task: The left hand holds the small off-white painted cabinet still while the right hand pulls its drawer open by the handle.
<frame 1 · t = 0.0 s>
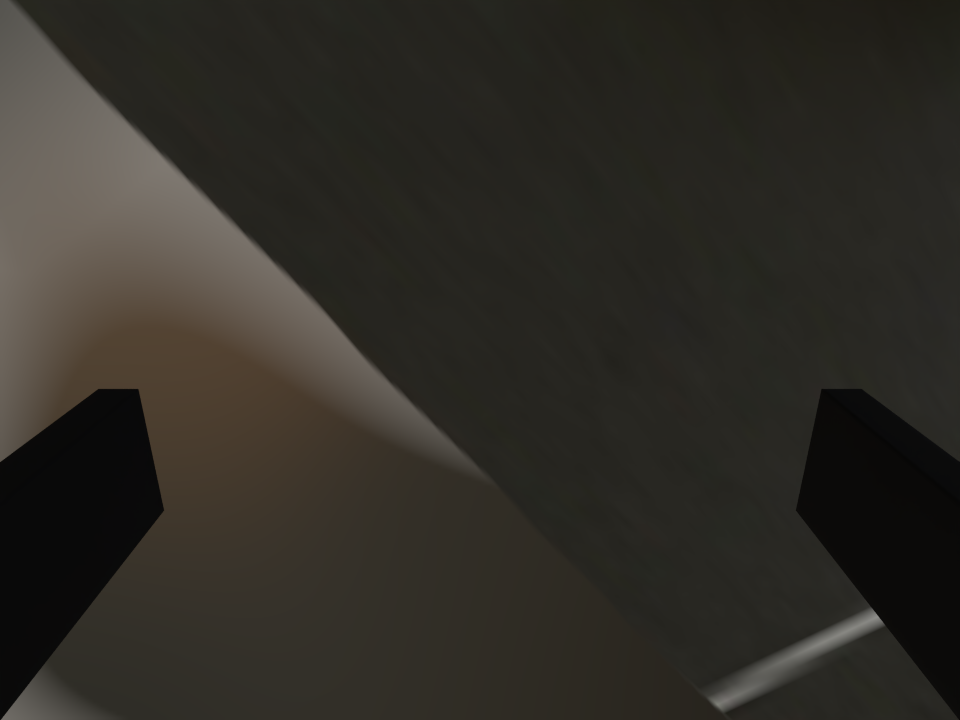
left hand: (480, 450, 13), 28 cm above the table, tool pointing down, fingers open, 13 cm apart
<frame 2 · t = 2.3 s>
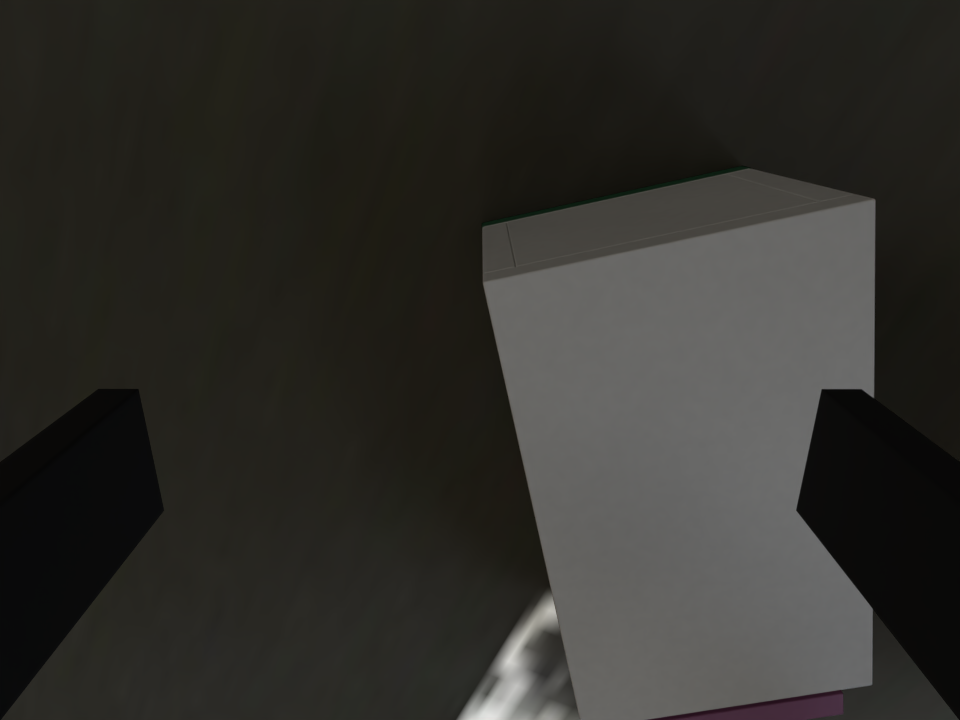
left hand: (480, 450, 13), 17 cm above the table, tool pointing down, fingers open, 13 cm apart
cabinet: (637, 389, 31), on the table
drawer: (680, 561, 29), point 5 cm above the table, slide at 1.5 cm
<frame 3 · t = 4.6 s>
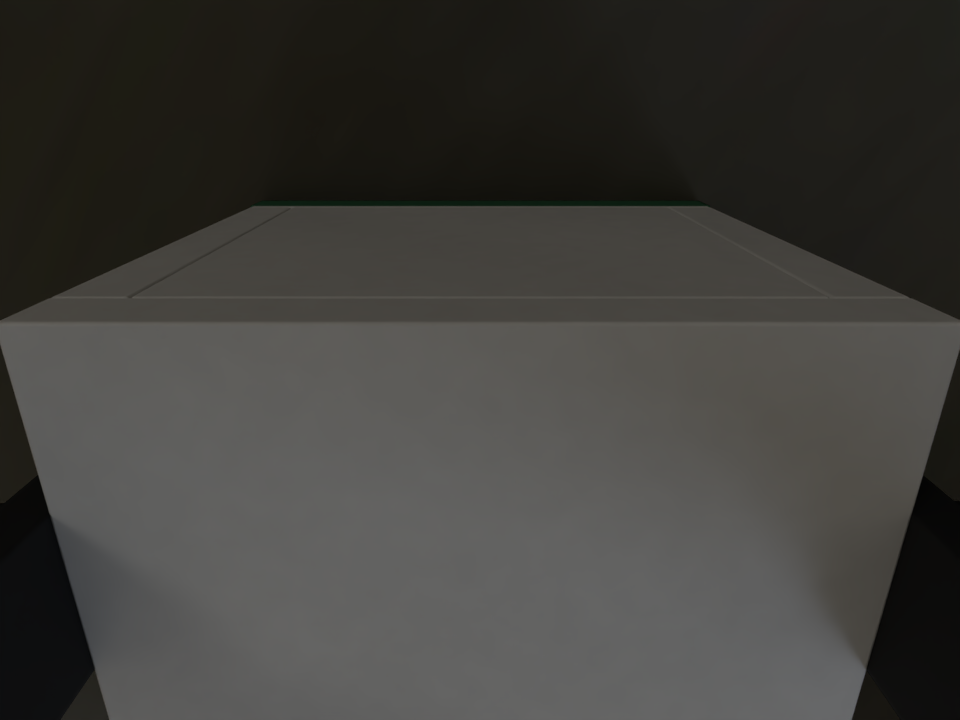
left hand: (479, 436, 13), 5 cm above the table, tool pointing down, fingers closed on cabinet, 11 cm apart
cabinet: (480, 507, 20), on the table, touching left hand
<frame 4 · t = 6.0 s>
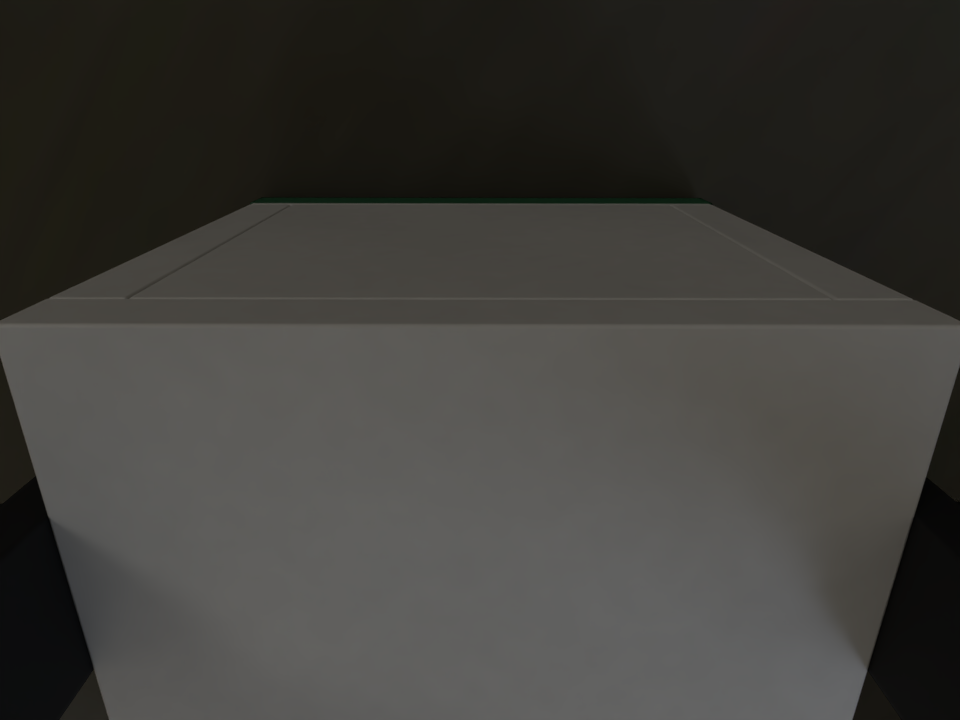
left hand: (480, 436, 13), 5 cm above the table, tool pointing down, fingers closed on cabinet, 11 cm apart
cabinet: (480, 505, 20), on the table, touching left hand
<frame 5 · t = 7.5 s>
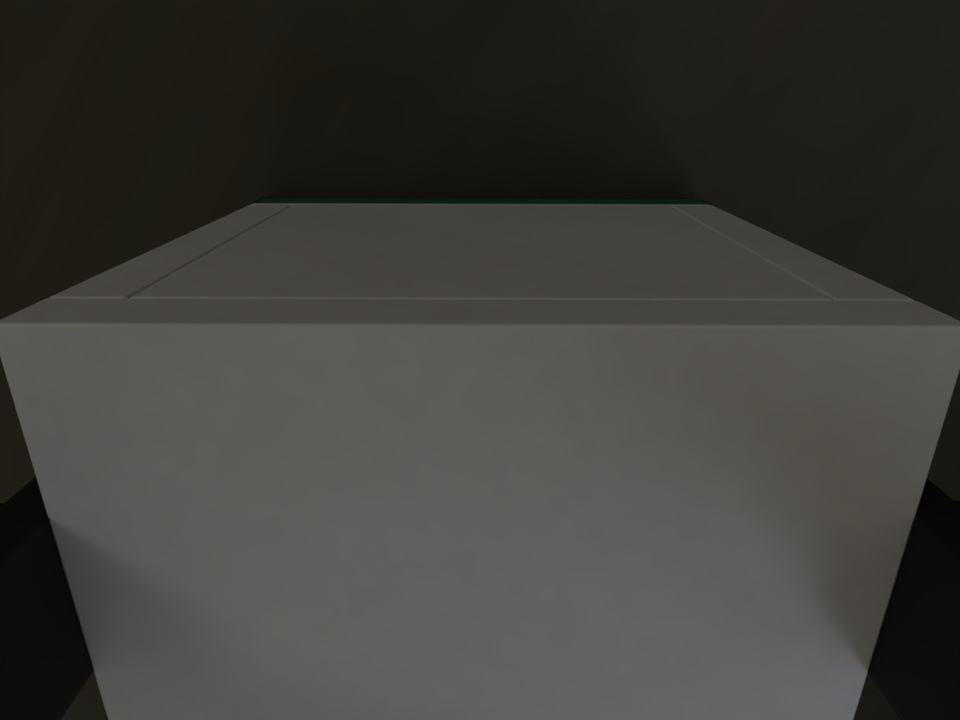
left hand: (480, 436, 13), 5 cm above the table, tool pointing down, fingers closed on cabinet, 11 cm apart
cabinet: (480, 506, 20), on the table, touching left hand
when the left hand's fingers open (5 cm above the table, at t = 9.0 s): cabinet stays where it is, on the table.
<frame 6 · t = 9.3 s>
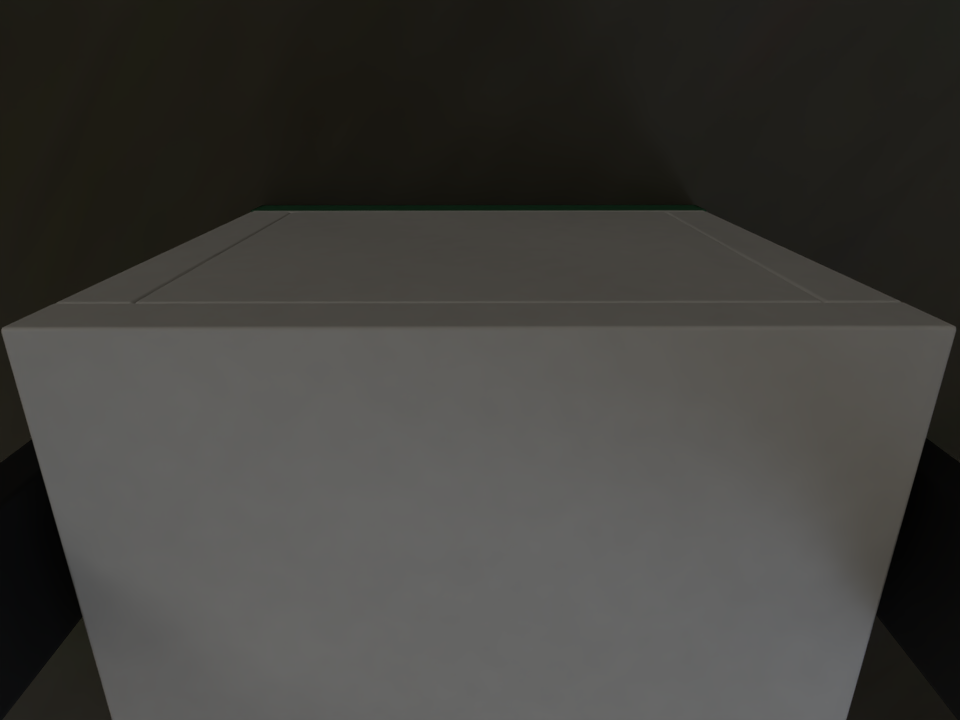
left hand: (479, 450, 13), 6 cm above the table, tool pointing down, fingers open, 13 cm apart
cabinet: (479, 510, 20), on the table
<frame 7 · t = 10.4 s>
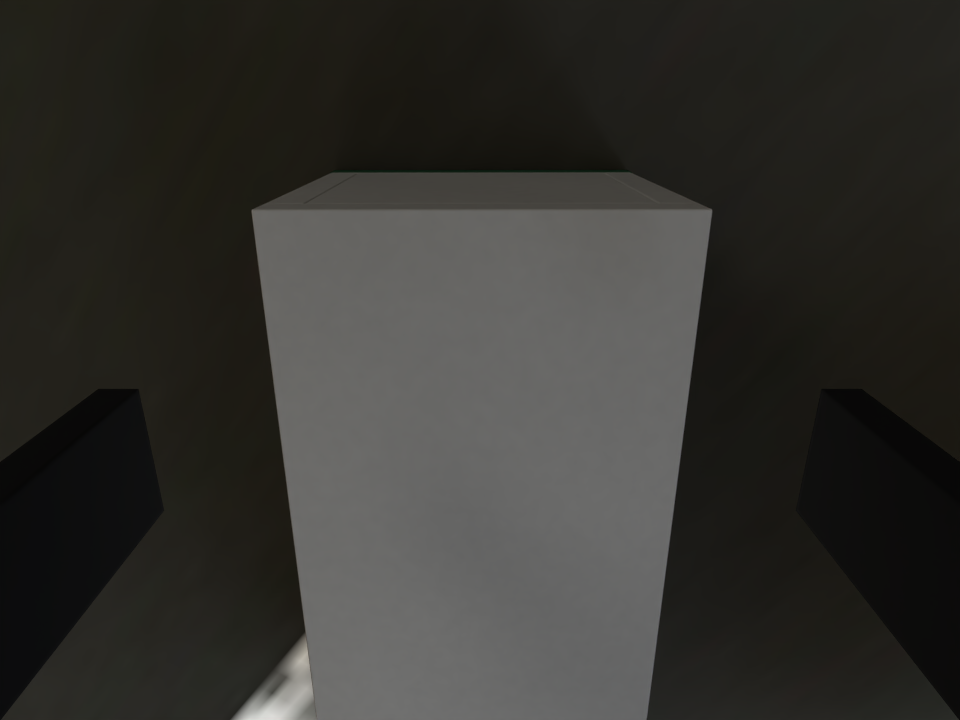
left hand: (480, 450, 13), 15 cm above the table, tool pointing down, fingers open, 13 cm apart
cabinet: (481, 391, 29), on the table
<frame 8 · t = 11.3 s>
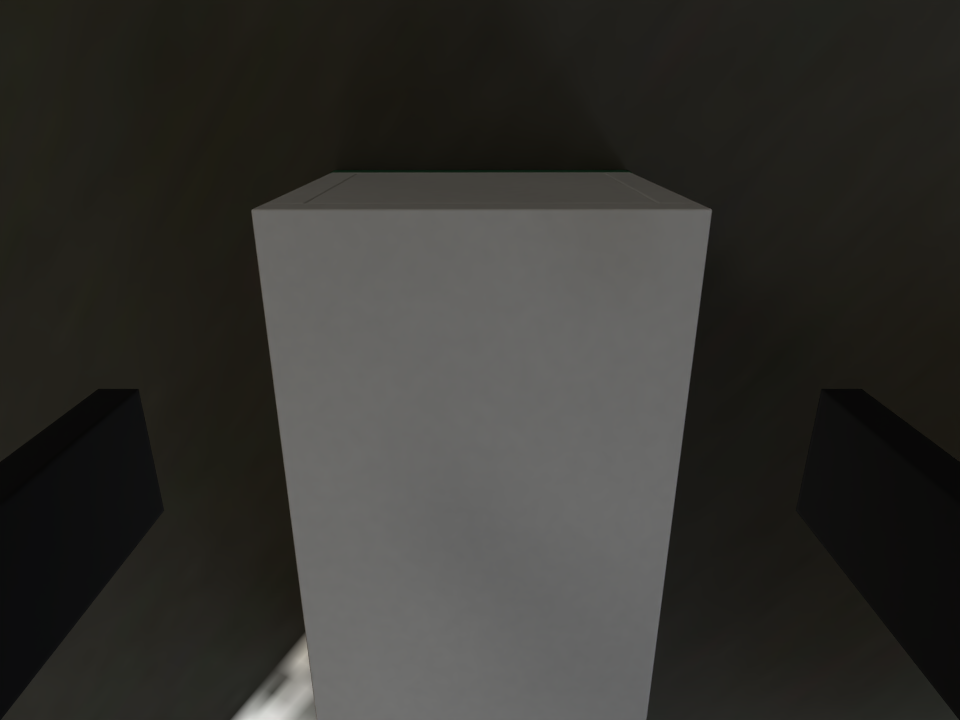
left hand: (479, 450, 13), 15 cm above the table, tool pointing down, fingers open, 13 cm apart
cabinet: (481, 391, 29), on the table
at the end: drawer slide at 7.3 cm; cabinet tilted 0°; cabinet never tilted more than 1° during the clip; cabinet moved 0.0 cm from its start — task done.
